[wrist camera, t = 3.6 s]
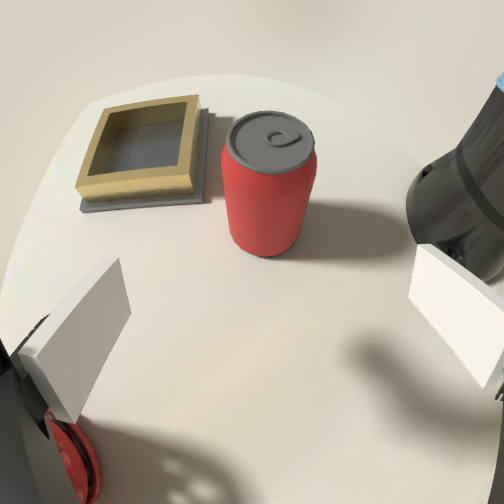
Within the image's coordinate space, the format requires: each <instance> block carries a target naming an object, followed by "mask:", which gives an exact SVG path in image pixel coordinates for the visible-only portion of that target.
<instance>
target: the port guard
mask: <svg viewBox="0 0 504 504" xmlns="http://www.w3.org/2000/svg"><path fill="white" fill-rule="evenodd" d="M208 119H209V109H208V108H207V109H201V106H200V100H199V95H189V96H180V97H172V98H164V99H157V100H150V101H144V102H138V103H132V104H126V105H121V106H116V107H111V108H106V109H104V110H103V113H102V115H101V117H100V120H99V122H98V124H97V127H96V129H95V132H94V134H93V137H92V139H91V142H90V144H89V147H88V150H87V153H86V155H85V158H84V161H83V164H82V167H81V170H80V173H79V176H78V179H77V182H76V185H75V188H76V189H77V191H78V192H79V193H80V194H81V196H82V197H83V198H82V202H81V205H80V210H81V212H82V213H86V212H95V211H105V210H116V209H127V208H139V207H151V206H165V205H180V204H196V203H203V187H204V171H205V156H206V143H207V130H208Z"/></svg>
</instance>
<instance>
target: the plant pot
mask: <svg viewBox="0 0 504 504" xmlns="http://www.w3.org/2000/svg"><path fill="white" fill-rule="evenodd" d="M45 417H46V418H47V420H48V421H49V424H50V427H51V430H52V433H53V436H54V439H55V442H56V445H57V448H58V451H59V453H60V456H61V459H62V461H63V464H64V466H65V469H66V471H67V474H68V476H69V479H70V481H71V483H72V485H73V488H74V490H75V492H76V494H77V496H78V498H79V500H80V502H81V504H93V503H94V502H95V501H96V500H97V498H98V496H99V494H100V491H101V485H102V477H101V470H100V466H99V462H98V459H97V457H96V454H95V452H94V450H93V448H92V446H91V444H90V442H89V441H88V439H87V438H86V436H85V435H84V433H83V432H82V431H81V430H80V429H79V427H78V426H77V425H76V424H72V423H68V422H64V421H60V420H57V419H56V418H55V416H54V415H53V413H52V412H51V410H50V409H49V408H48V410H47V412H46V413H45Z"/></svg>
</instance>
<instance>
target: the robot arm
mask: <svg viewBox="0 0 504 504" xmlns="http://www.w3.org/2000/svg"><path fill="white" fill-rule="evenodd" d="M496 84H497V85H496V86H495V88H494V90H493V91H492V93H491V95H490V97H489V98H488V100H487V102H486V103H485V105H484V106H483V108H482V110H481V111H480V113H479V114H478V116H477V118H476V119H475V121H474V122H473V124H472V125H471V127H470V128H469V130H468V131H467V132H466V134H465V135H464V137H463V139H462V140H461V141H460V143H459V144H458V146H457V147H456V148H455V149H453V150H452V151H450V152H449V153H447V154H445V155H444V156H442V157H440V158H439V159H437V160H435V161H434V162H432V163H431V164H429V165H427V166H426V167H424V168H423V169H422V170H421V171H420V172H419V174H418V175H417V177H416V178H415V180H414V181H413V182H412V184H411V186H410V188H409V190H408V193H407V199H406V212H407V218H408V222H409V226H410V229H411V232H412V234H413V236H414V239H415V241H416V243H417V244H418V245H417V252H416V258H415V264H414V269H413V274H412V280H411V285H410V290H409V294H408V299H409V300H410V301H411V302H412V303H413V304H414V305H415V306H416V308H417V309H418V310H419V311H420V312H421V313H422V314H423V316H424V317H425V318H426V319H427V320H428V321H429V322H430V324H431V325H432V326H433V327H434V328H435V330H436V331H437V332H438V333H439V334H440V336H441V337H442V338H443V339H444V340H445V342H446V343H447V344H448V345H449V346H450V348H451V349H452V350H453V351H454V353H455V354H456V355H457V356H458V358H459V359H460V360H461V361H462V363H463V364H464V365H465V367H466V368H467V369H468V370H469V372H470V373H471V374H472V376H473V377H474V378H475V380H476V381H477V382H478V384H479V385H480V386H481V388H482V389H485V388H487V387H490V386H492V385H494V384H496V383H497V381H498V379H499V378H500V376H501V374H502V372H503V370H504V298H503V297H502V296H500V295H499V294H498V293H497V292H495V291H494V290H493V289H492V288H490V287H489V286H488V285H487V284H485V283H484V282H486V281H488V280H490V279H491V278H493V277H495V276H496V275H497V274H499V273H500V272H501V271H502V270H503V268H504V72H503V74H502V75H500V76H499V77H498V78H497V80H496ZM130 314H131V309H130V305H129V301H128V297H127V293H126V289H125V284H124V280H123V275H122V271H121V266H120V261H119V257H114V258H103V259H102V260H101V261H100V262H99V263H98V264H97V265H96V266H95V267H94V268H93V269H92V270H91V271H90V272H89V273H88V274H87V275H86V276H85V277H84V278H83V279H82V280H81V281H80V282H79V283H78V284H77V285H76V287H75V288H74V289H73V290H72V291H71V292H70V293H69V294H68V295H67V296H66V297H65V298H64V299H63V300H62V302H61V303H60V304H59V305H58V306H57V307H56V308H55V309H54V310H53V312H52V313H50V314H49V315H47V316H46V317H44V318H43V319H41V320H40V321H39V323H38V324H37V325H36V326H35V327H34V330H32V331H31V332H30V333H29V334H28V337H27V336H26V338H25V339H24V340H23V341H22V342H21V344H20V345H19V346H18V347H17V348H16V350H15V351H14V352H13V353H12V355H11V356H10V357H9V355H8V353H7V351H6V349H5V347H4V345H3V343H2V341H1V339H0V504H81V502H80V500H79V498H78V496H77V494H76V492H75V490H74V488H73V485H72V483H71V481H70V479H69V476H68V474H67V471H66V469H65V466H64V464H63V461H62V459H61V456H60V453H59V451H58V448H57V445H56V442H55V439H54V436H53V433H52V430H51V427H50V424H49V421H48V420H47V418H46V417H45V413H46V412H47V410H48V408H49V409H50V410H51V412H52V413H53V415H54V416H55V418H56V419H57V420H60V421H64V422H68V423H72V424H76V422H77V420H78V417H79V415H80V413H81V411H82V409H83V406H84V404H85V402H86V400H87V398H88V396H89V394H90V392H91V390H92V387H93V385H94V383H95V381H96V379H97V377H98V375H99V373H100V371H101V369H102V367H103V365H104V363H105V361H106V359H107V357H108V355H109V354H110V352H111V350H112V348H113V346H114V344H115V342H116V340H117V338H118V336H119V335H120V333H121V331H122V329H123V327H124V325H125V323H126V322H127V320H128V318H129V316H130ZM502 393H503V397H502V398H501V400H500V401H503V414H502V426H501V436H500V444H499V451H498V457H497V463H496V469H495V474H494V479H493V484H492V488H491V492H490V496H489V500H488V504H504V383H503V384H502V386H501V388H500V389H499V391H498V393H497V394H496V397H495V400H497V399H498V398H499V396H500V394H502Z"/></svg>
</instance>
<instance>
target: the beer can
mask: <svg viewBox="0 0 504 504" xmlns="http://www.w3.org/2000/svg"><path fill="white" fill-rule="evenodd" d="M314 145H315V140H314V137H313V134H312V132H311V131H310V129H309V128H308V127H307V126H306V125H305V124H304V123H303V122H302V121H300V120H299V119H297V118H296V117H294V116H291V115H288V114H286V113H283V112H277V111H258V112H254V113H251V114H247V115H245V116H243V117H242V118H240V119H238V120H236V121H235V123H234V124H233V125H232V126H231V127H230V128H229V130H228V133H227V136H226V143H225V146H224V148H223V151H222V155H221V171H222V178H223V186H224V193H225V200H226V207H227V214H228V221H229V228H230V233H231V235H232V237H233V240H234V242H235V243H236V244H237V245H238V246H239V247H240V248H241V249H242V250H244V251H246V252H248V253H250V254H252V255H257V256H262V257H266V256H275V255H277V254H280V253H282V252H284V251H286V250H287V249H288V248H289V247H291V246H292V245H293V244H294V242H295V240H296V238H297V237H298V234H299V231H300V228H301V224H302V221H303V218H304V214H305V211H306V207H307V204H308V201H309V197H310V194H311V190H312V187H313V183H314V180H315V176H316V169H317V156H316V153H315V150H314Z"/></svg>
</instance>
